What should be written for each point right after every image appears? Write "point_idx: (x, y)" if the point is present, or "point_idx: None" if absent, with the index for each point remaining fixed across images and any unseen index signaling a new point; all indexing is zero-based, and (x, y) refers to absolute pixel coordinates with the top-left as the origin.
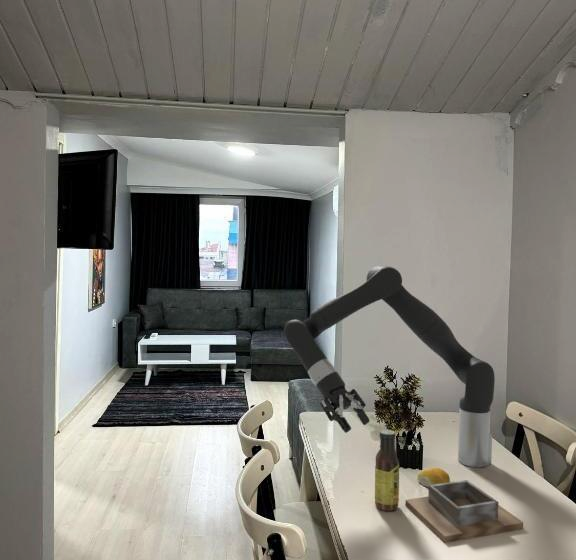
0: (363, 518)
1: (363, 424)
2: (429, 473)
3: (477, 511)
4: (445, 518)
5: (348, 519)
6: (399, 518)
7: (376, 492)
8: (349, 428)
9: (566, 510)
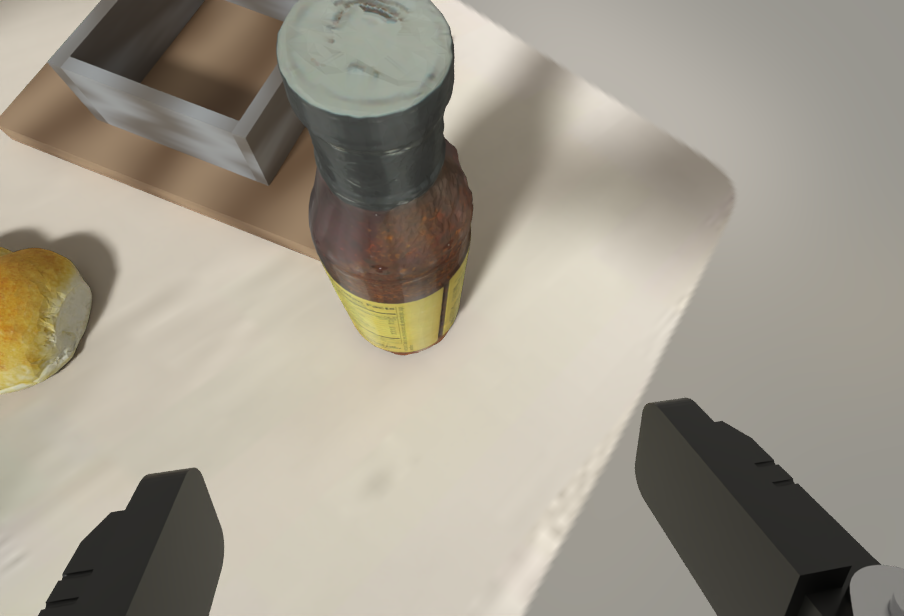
0: (557, 304)
1: (220, 562)
2: (16, 292)
3: None
4: None
5: (614, 336)
6: None
7: (459, 300)
8: (688, 400)
9: None
